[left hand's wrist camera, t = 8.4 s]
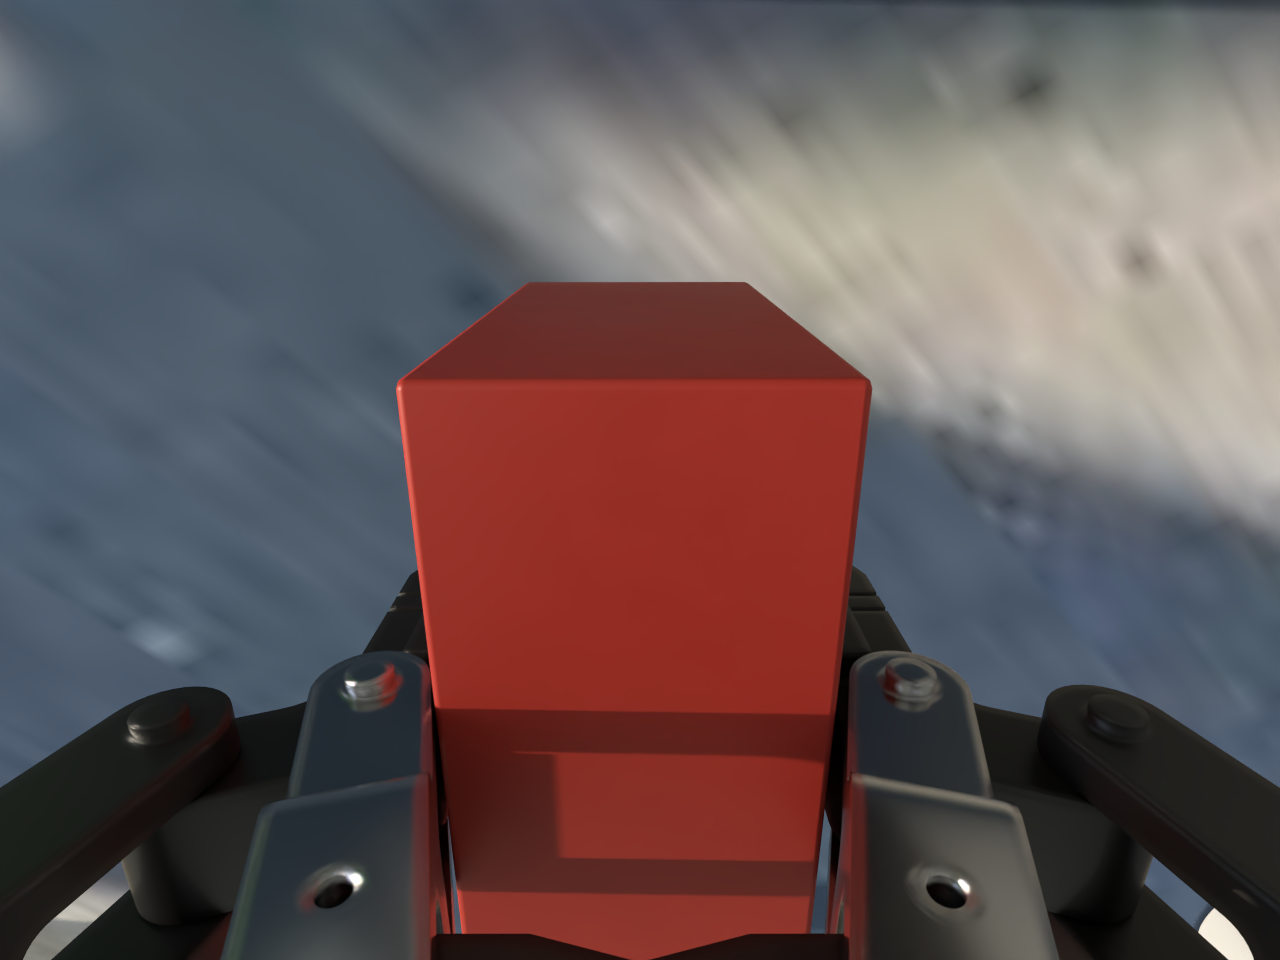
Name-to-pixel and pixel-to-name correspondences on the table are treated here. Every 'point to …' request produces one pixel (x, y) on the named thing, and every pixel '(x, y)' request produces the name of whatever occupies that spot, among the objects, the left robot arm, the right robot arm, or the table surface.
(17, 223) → the table surface
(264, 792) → the left robot arm
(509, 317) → the brick
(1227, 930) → the coffee cup
